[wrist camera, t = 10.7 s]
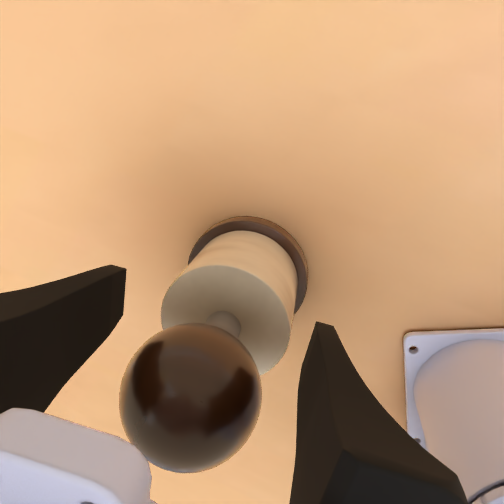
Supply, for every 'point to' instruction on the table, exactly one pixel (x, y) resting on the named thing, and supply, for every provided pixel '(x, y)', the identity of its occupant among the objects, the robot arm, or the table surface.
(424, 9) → the table surface
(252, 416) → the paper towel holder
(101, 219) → the table surface
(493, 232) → the table surface
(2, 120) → the table surface
